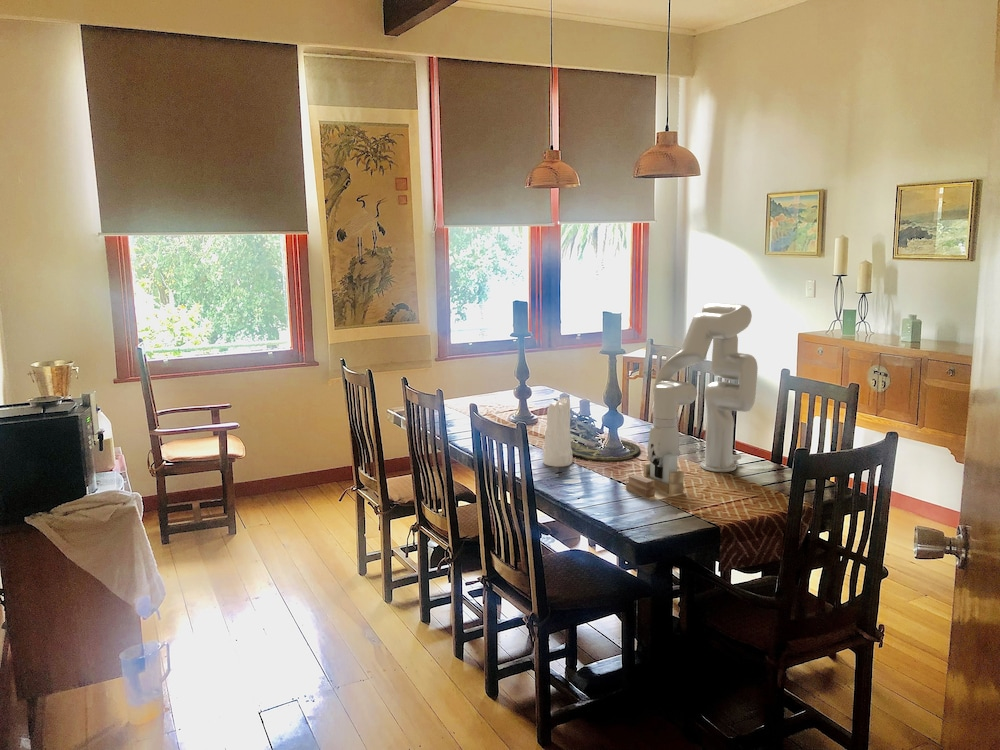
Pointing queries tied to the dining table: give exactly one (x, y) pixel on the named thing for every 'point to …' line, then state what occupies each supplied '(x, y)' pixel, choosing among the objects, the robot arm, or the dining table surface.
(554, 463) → the white pillar candle
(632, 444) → the decorative plate
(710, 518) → the dining table surface
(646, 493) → the block
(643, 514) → the dining table surface
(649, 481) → the offcut top
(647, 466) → the rack
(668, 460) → the white rectangular block
